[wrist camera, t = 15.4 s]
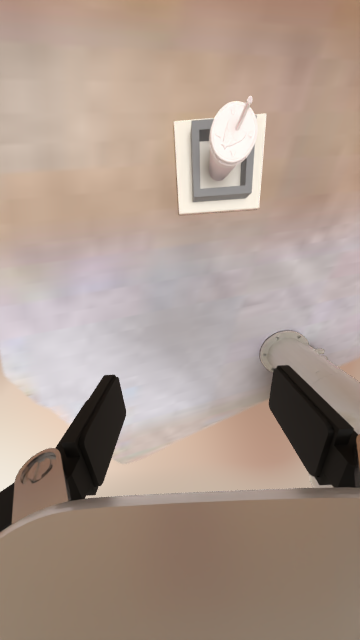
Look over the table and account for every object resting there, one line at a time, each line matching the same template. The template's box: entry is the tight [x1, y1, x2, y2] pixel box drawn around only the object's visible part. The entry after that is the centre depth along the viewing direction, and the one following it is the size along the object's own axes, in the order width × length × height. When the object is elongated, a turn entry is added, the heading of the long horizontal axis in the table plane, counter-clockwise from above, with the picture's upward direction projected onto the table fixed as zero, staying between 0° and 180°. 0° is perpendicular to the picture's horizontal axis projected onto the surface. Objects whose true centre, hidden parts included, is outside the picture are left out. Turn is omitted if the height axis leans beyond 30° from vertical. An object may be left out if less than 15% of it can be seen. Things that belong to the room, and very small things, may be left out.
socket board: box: [174, 114, 266, 215], centre depth 31 cm, size 16×14×4 cm
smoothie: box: [209, 96, 258, 181], centre depth 25 cm, size 6×6×14 cm
